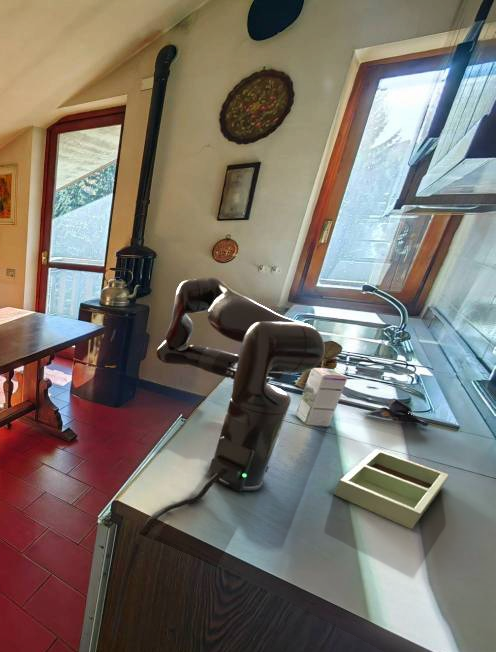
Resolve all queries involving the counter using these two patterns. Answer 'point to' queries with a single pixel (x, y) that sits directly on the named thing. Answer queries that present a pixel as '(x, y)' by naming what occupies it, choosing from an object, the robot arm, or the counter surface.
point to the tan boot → (323, 361)
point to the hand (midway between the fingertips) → (275, 378)
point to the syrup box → (321, 396)
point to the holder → (391, 487)
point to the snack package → (396, 412)
